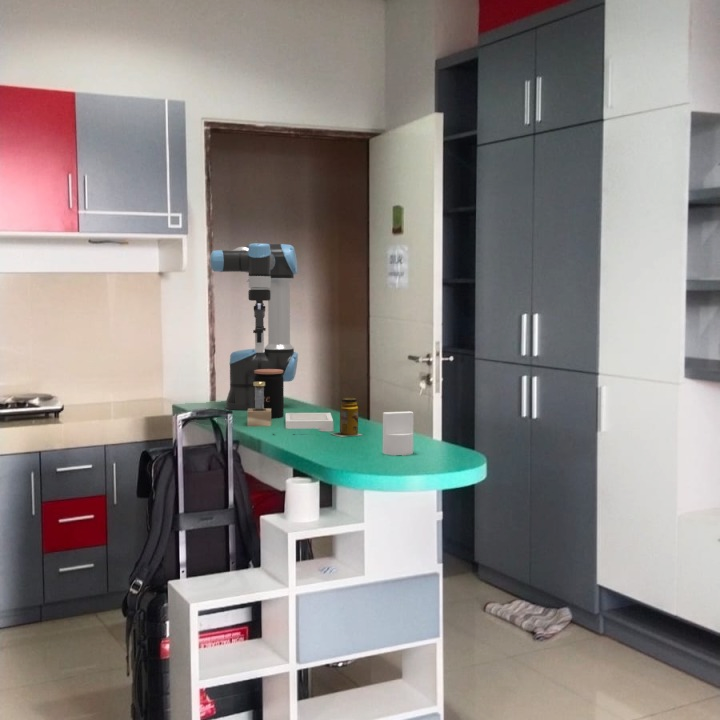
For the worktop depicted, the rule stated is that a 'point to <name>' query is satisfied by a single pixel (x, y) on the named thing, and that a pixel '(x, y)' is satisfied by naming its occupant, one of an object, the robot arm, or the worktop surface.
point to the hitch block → (259, 417)
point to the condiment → (348, 418)
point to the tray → (309, 421)
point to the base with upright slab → (398, 433)
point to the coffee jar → (272, 390)
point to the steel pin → (259, 395)
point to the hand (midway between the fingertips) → (259, 351)
